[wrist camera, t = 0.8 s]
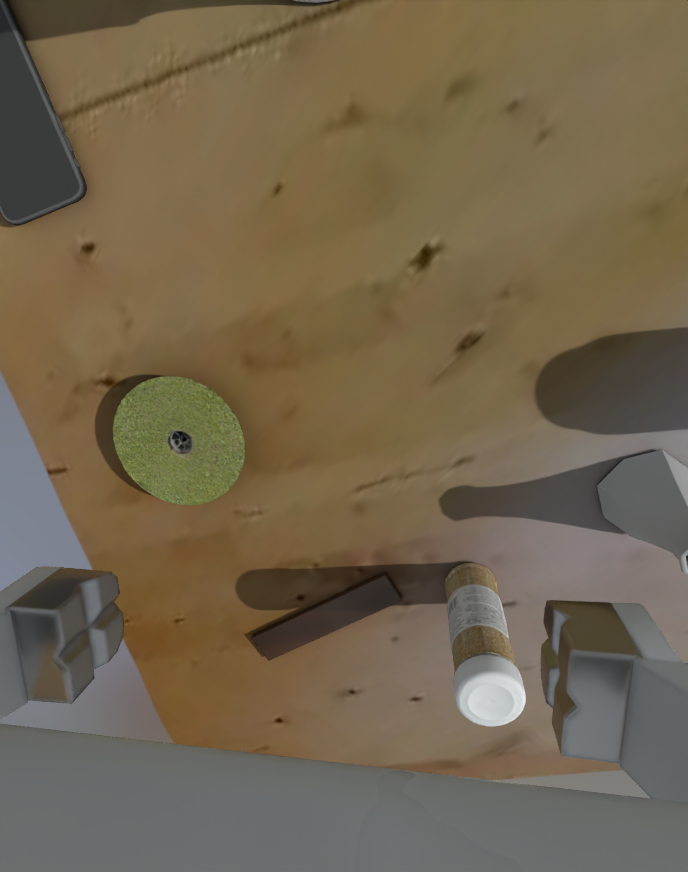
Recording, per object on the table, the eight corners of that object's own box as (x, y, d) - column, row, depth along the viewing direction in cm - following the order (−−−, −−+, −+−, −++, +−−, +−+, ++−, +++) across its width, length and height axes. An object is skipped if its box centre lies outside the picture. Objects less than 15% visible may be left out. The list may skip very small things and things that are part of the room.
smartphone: (-14, -41, 36) (88, 194, 40) (-3, -34, 37) (95, 196, 41) (-100, 8, 37) (6, 230, 41) (-88, 14, 38) (14, 230, 42)
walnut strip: (252, 634, 53) (250, 638, 52) (385, 571, 49) (385, 575, 48) (270, 656, 54) (268, 661, 53) (402, 596, 49) (402, 600, 49)
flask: (624, 547, 45) (680, 626, 36) (579, 481, 44) (625, 546, 35) (710, 503, 43) (792, 575, 34) (666, 432, 42) (739, 488, 32)
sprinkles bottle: (478, 612, 49) (500, 740, 36) (434, 589, 49) (442, 709, 36) (507, 575, 47) (541, 695, 35) (461, 551, 47) (480, 663, 35)
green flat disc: (177, 516, 49) (168, 526, 48) (98, 414, 47) (85, 421, 45) (277, 457, 46) (271, 466, 44) (197, 345, 44) (187, 349, 42)
